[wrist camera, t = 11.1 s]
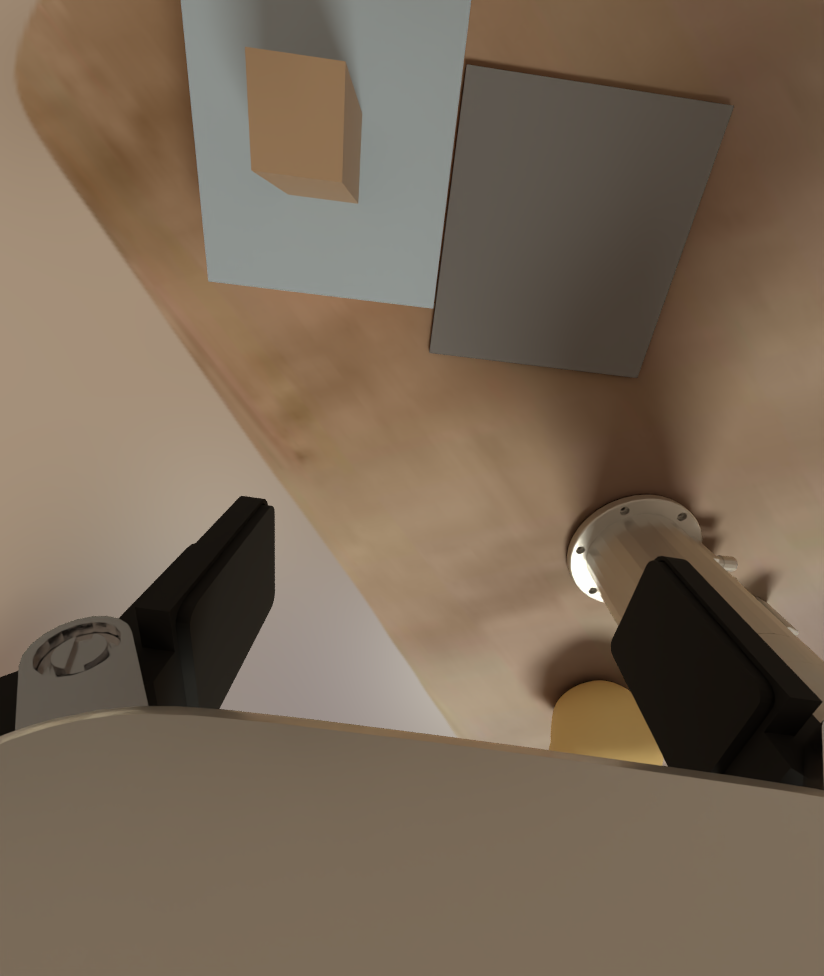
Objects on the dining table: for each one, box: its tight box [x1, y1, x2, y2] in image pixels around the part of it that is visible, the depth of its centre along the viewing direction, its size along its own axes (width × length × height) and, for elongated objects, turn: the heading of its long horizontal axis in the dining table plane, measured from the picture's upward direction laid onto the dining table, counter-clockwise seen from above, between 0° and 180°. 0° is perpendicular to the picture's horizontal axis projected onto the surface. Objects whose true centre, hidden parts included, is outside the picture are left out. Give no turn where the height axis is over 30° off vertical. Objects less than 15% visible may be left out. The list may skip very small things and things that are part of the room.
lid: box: [181, 0, 471, 308], centre depth 21 cm, size 14×14×7 cm
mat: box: [429, 64, 734, 378], centre depth 30 cm, size 17×17×1 cm
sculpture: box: [549, 680, 663, 766], centre depth 47 cm, size 11×12×11 cm
